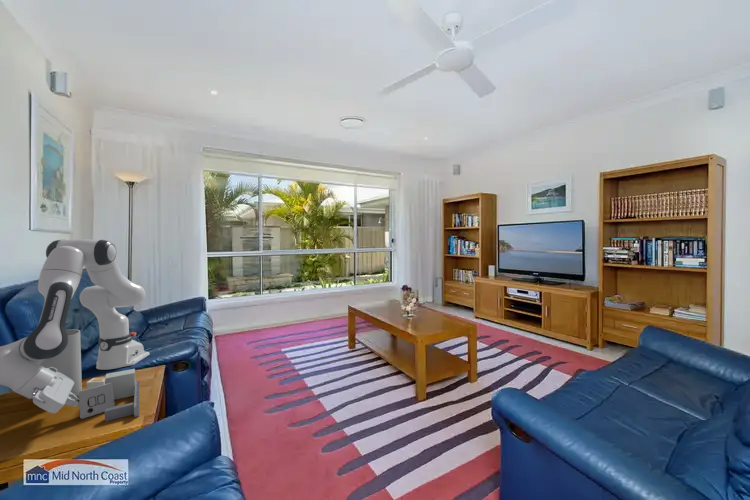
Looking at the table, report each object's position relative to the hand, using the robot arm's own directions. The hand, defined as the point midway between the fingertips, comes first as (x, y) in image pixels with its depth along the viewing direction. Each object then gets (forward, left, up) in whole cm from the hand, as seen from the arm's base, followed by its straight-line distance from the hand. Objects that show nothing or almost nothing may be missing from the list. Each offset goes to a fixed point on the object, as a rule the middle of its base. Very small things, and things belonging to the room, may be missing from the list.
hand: (78, 403), depth 113 cm
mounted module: (-14, +2, -4) cm, 15 cm away
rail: (-10, +13, -4) cm, 17 cm away
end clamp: (-1, +14, -4) cm, 15 cm away
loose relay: (-17, -9, -4) cm, 20 cm away
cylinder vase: (-11, -19, -4) cm, 22 cm away
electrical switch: (-3, +4, -4) cm, 6 cm away
